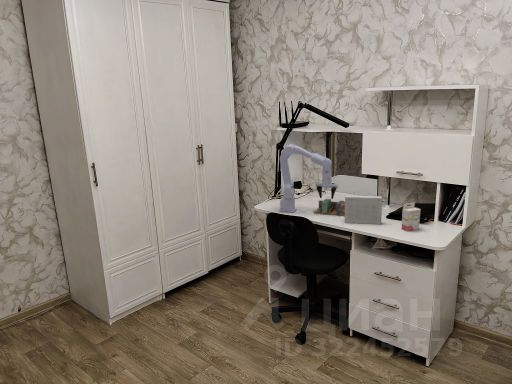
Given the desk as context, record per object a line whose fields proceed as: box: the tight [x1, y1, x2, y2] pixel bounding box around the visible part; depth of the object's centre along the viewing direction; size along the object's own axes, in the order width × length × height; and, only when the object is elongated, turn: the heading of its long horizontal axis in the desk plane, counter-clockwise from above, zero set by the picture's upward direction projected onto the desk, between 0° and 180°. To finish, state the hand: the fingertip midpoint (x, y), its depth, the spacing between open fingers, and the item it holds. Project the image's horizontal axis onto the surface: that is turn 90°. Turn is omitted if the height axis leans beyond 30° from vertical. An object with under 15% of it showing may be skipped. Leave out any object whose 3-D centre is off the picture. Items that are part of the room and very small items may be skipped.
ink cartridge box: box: [401, 201, 421, 232], centre depth 222 cm, size 9×5×15 cm, turn 112°
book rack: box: [313, 200, 345, 217], centre depth 259 cm, size 20×11×8 cm, turn 64°
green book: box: [321, 198, 332, 213], centre depth 260 cm, size 4×9×7 cm, turn 153°
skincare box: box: [344, 195, 383, 225], centre depth 237 cm, size 21×6×16 cm, turn 74°
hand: (326, 198), depth 259 cm, fingers open, 7 cm apart
